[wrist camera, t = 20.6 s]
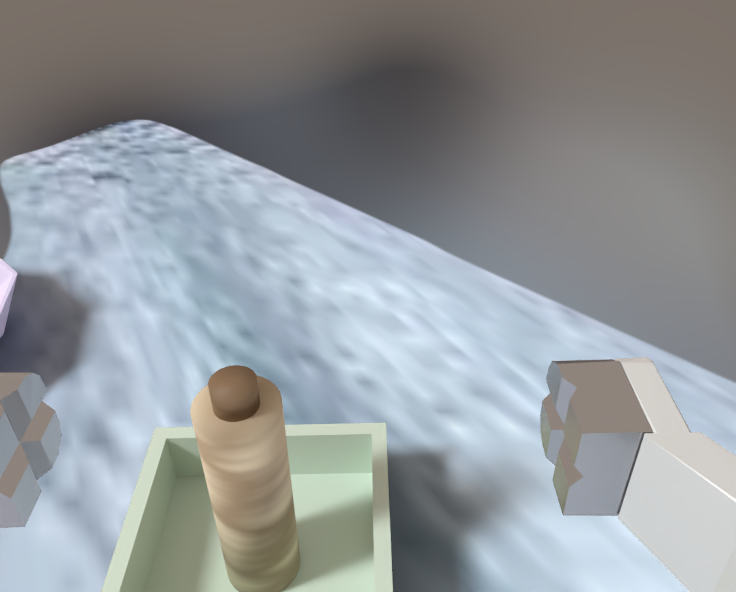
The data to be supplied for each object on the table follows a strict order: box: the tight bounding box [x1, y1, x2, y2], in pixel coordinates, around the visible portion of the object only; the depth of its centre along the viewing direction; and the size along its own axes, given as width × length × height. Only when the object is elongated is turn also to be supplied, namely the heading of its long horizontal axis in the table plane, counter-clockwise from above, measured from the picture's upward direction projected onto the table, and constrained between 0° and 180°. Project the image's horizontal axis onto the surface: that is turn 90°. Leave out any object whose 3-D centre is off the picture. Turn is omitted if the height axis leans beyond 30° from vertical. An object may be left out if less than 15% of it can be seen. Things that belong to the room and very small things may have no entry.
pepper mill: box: [191, 365, 300, 592], centre depth 38 cm, size 5×5×16 cm
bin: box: [101, 423, 393, 592], centre depth 42 cm, size 16×16×5 cm
